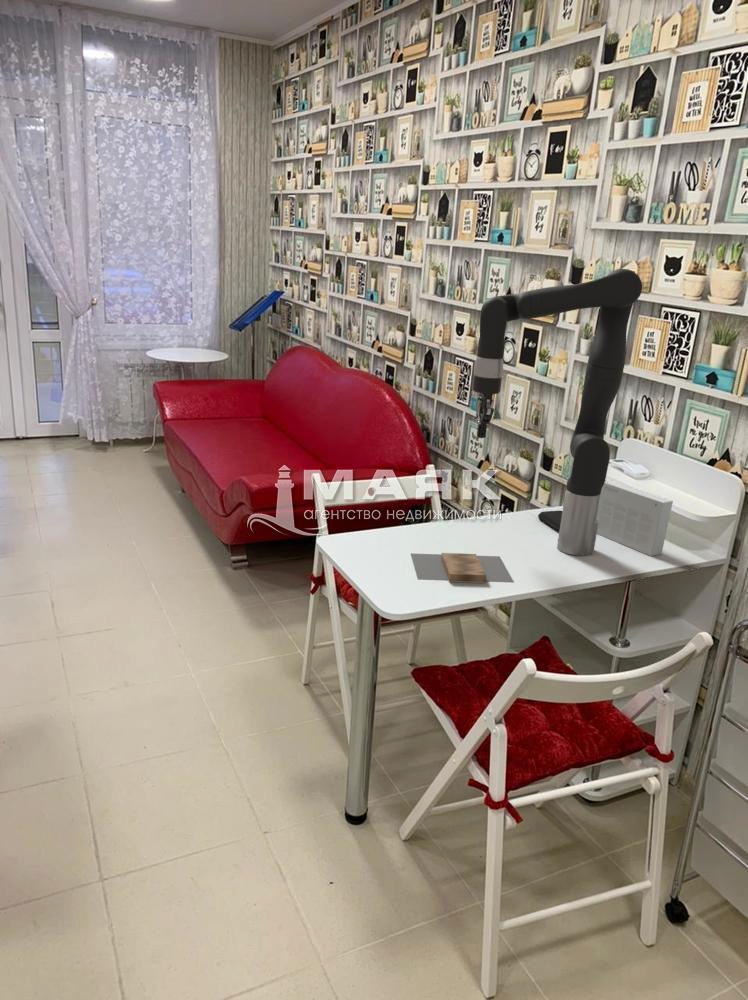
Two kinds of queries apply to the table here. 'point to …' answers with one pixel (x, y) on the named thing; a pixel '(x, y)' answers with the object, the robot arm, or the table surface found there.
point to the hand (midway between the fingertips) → (480, 437)
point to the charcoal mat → (434, 570)
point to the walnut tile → (463, 567)
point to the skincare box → (633, 517)
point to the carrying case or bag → (551, 519)
